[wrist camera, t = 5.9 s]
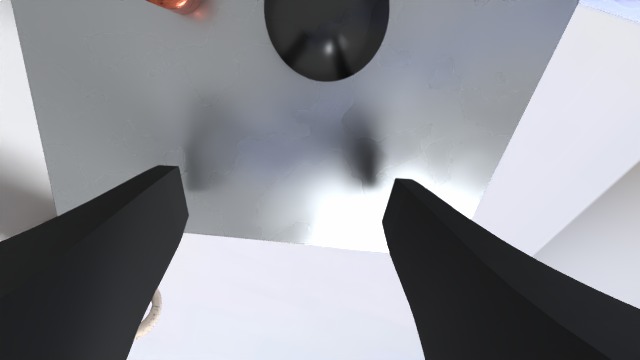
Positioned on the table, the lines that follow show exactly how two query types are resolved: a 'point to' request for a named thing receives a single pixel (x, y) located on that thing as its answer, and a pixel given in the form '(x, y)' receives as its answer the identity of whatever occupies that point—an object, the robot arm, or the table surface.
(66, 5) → the cooker lid
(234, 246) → the table surface
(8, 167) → the table surface
